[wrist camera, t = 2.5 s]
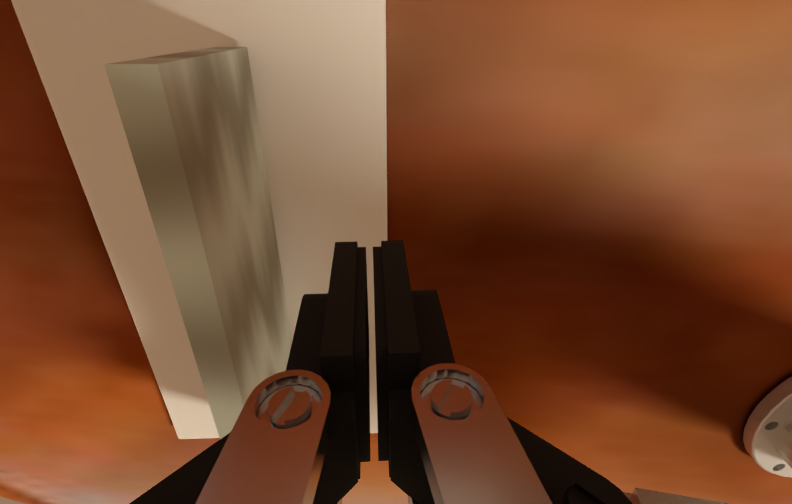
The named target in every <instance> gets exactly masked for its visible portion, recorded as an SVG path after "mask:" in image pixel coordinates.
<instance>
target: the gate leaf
mask: <svg viewBox="0 0 792 504" xmlns="http://www.w3.org/2000/svg"><path fill="white" fill-rule="evenodd" d="M104 66H105V69H106V72H107V76H108V79H109V82H110V85H111V88H112V92H113V95H114V98H115V101H116V105H117V108H118V111H119V114H120V118H121V121H122V124H123V127H124V131H125V134H126V137H127V140H128V143H129V147H130V150H131V153H132V156H133V160H134V163H135V166H136V169H137V173H138V176H139V179H140V182H141V186H142V189H143V192H144V195H145V198H146V202H147V205H148V208H149V211H150V215H151V218H152V221H153V224H154V228H155V231H156V234H157V237H158V241H159V244H160V247H161V250H162V253H163V257H164V260H165V263H166V266H167V270H168V273H169V276H170V279H171V283H172V286H173V289H174V292H175V296H176V299H177V302H178V305H179V308H180V312H181V315H182V318H183V321H184V325H185V328H186V331H187V334H188V338H189V341H190V344H191V347H192V350H193V354H194V357H195V360H196V363H197V367H198V370H199V373H200V376H201V380H202V383H203V386H204V389H205V393H206V396H207V399H208V402H209V405H210V409H211V412H212V415H213V418H214V422H215V425H216V428H217V431H218V435H219V438H220V439H222V438H223V437H224V436H226V435H227V434H229V433H230V432H231V431H232V429H233V427H234V425H235V423H236V421H237V419H238V417H239V415H240V413H241V411H242V409H243V407H244V405H245V403H246V401H247V399H248V397H249V395H250V394H251V393H252V391H253V390H254V388H255V387H256V386H257V385H259V384H260V383H261V382H262V381H263V380H264V379H266V378H268V377H270V376H272V375H274V374H276V373H279V372H283V371H286V367H287V363H288V358H289V354H290V349H291V345H292V337H291V330H290V324H289V317H288V311H287V304H286V298H285V291H284V285H283V278H282V271H281V265H280V258H279V252H278V245H277V239H276V232H275V226H274V219H273V213H272V206H271V200H270V193H269V187H268V180H267V174H266V167H265V161H264V154H263V147H262V141H261V134H260V128H259V121H258V115H257V108H256V102H255V95H254V89H253V82H252V76H251V69H250V63H249V56H248V50H247V47H212V48H205V49H199V50H192V51H186V52H180V53H173V54H167V55H160V56H154V57H148V58H141V59H135V60H128V61H122V62H115V63H109V64H104Z"/></svg>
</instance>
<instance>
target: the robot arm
mask: <svg viewBox="0 0 792 504" xmlns="http://www.w3.org/2000/svg"><path fill="white" fill-rule="evenodd" d="M373 273H374V310H375V347H376V383H377V420H378V457H379V461H387V460H389V477H391V481H392V482H394V483H395V484H396V485H397V486H398V487H399V488H400V489H402V490H403V491H404V492H405V493H406V494H407V495H408V503H409V504H728V503H722V502H717V501H711V500H705V499H699V498H693V497H687V496H681V495H675V494H669V493H663V492H657V491H651V490H646V489H640V488H635V489H634V491H633V494H631V493H625V492H622V491H621V490H620V489H619V488H618V487H616V486H615V485H614V484H613V483H611V482H610V481H609V480H607V479H606V478H604V477H603V476H601V475H599V474H598V473H596V472H595V471H593V470H591V469H590V468H588V467H587V466H585V465H583V464H582V463H580V462H579V461H577V460H575V459H574V458H572V457H570V456H569V455H567V454H566V453H564V452H562V451H561V450H559V449H558V448H556V447H554V446H553V445H551V444H550V443H548V442H546V441H545V440H543V439H541V438H540V437H538V436H537V435H535V434H533V433H532V432H530V431H529V430H527V429H525V428H524V427H522V426H521V425H519V424H517V423H516V422H514V421H512V420H511V419H509V418H508V417H506V415H505V413H504V411H503V409H502V407H501V406H500V404H499V402H498V400H497V398H496V396H495V394H494V392H493V390H492V388H491V387H490V385H489V384H488V383H487V381H486V380H485V378H484V377H483V376H481V375H480V374H479V373H477V372H476V371H475V370H473V369H470V368H468V367H466V366H464V365H459V364H455V361H454V357H453V353H452V349H451V345H450V341H449V337H448V333H447V329H446V325H445V321H444V317H443V314H442V310H441V306H440V302H439V298H438V294H437V291H436V290H418V291H411V288H410V282H409V276H408V270H407V263H406V257H405V251H404V245H403V240H394V241H381V246H380V247H373ZM743 442H744V446H745V449H746V450H747V452H748V453H749V455H750V456H751V457H752V458H753V459H754V461H755V462H756V463H757V464H758V465H759V466H760V467H761V468H762V469H764V470H766V471H768V472H770V473H773V474H776V475H780V476H784V477H792V376H791V377H789V378H788V379H786V380H785V381H783V382H782V383H780V384H779V385H778V386H777V387H776V388H774V389H773V390H772V391H771V392H769V393H768V394H767V395H766V396H765V397H764V398H763V399H762V401H761V402H760V403H759V404H758V405H757V406H756V407H755V409H754V410H753V412H752V413H751V415H750V416H749V418H748V420H747V423H746V425H745V428H744V434H743ZM368 461H370V371H369V318H368V291H367V263H366V247H358V244H357V241H355V242H335V247H334V254H333V261H332V268H331V276H330V283H329V290H328V293H325V294H304V295H303V297H302V301H301V305H300V310H299V314H298V318H297V323H296V327H295V332H294V336H293V341H292V345H291V349H290V354H289V358H288V363H287V367H286V371H283V372H279V373H276V374H274V375H272V376H270V377H268V378H266V379H264V380H263V381H262V382H261V383H260V384H259V385H257V386H256V387H255V388H254V390H253V391H252V393H251V394H250V395H249V397H248V399H247V401H246V403H245V405H244V407H243V409H242V411H241V413H240V415H239V417H238V419H237V421H236V423H235V425H234V427H233V429H232V431H231V432H230V433H229V434H227V435H226V436H224V437H223V438H222V439H220V440H219V441H217V442H216V443H215V444H213V445H212V446H210V447H209V448H207V449H206V450H205V451H203V452H202V453H200V454H199V455H198V456H196V457H195V458H193V459H192V460H191V461H189V462H188V463H186V464H185V465H183V466H182V467H181V468H179V469H178V470H176V471H175V472H174V473H172V474H171V475H169V476H168V477H167V478H165V479H164V480H162V481H161V482H159V483H158V484H157V485H155V486H154V487H152V488H151V489H150V490H148V491H147V492H145V493H144V494H143V495H141V496H140V497H138V498H137V499H135V500H134V501H133V502H131V503H130V504H342V498H343V497H344V496H345V495H346V494H347V493H348V492H349V491H350V490H351V489H352V488H353V487H354V485H355V484H356V483H357V482H358V479H360V462H368Z"/></svg>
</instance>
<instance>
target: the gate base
mask: <svg viewBox="0 0 792 504" xmlns="http://www.w3.org/2000/svg"><path fill="white" fill-rule="evenodd" d="M11 2H12V4H13V7H14V9H15V12H16V15H17V17H18V20H19V22H20V25H21V28H22V30H23V33H24V36H25V38H26V41H27V43H28V46H29V49H30V51H31V54H32V56H33V59H34V62H35V64H36V67H37V70H38V72H39V75H40V77H41V80H42V83H43V85H44V88H45V90H46V93H47V96H48V98H49V101H50V104H51V106H52V109H53V111H54V114H55V117H56V119H57V122H58V124H59V127H60V130H61V132H62V135H63V138H64V140H65V143H66V145H67V148H68V151H69V153H70V156H71V158H72V161H73V164H74V166H75V169H76V172H77V174H78V177H79V179H80V182H81V185H82V187H83V190H84V192H85V195H86V198H87V200H88V203H89V206H90V208H91V211H92V213H93V216H94V219H95V221H96V224H97V226H98V229H99V232H100V234H101V237H102V240H103V242H104V245H105V247H106V250H107V253H108V255H109V258H110V260H111V263H112V266H113V268H114V271H115V274H116V276H117V279H118V281H119V284H120V287H121V289H122V292H123V294H124V297H125V300H126V302H127V305H128V308H129V310H130V313H131V315H132V318H133V321H134V323H135V326H136V328H137V331H138V334H139V336H140V339H141V342H142V344H143V347H144V349H145V352H146V355H147V357H148V360H149V362H150V365H151V368H152V370H153V373H154V375H155V378H156V381H157V383H158V386H159V389H160V391H161V394H162V396H163V399H164V402H165V404H166V407H167V409H168V412H169V415H170V417H171V420H172V423H173V425H174V428H175V430H176V433H177V436H178V438H179V439H198V438H219V435H218V431H217V428H216V425H215V422H214V418H213V415H212V412H211V409H210V405H209V402H208V399H207V396H206V393H205V389H204V386H203V383H202V380H201V376H200V373H199V370H198V367H197V363H196V360H195V357H194V354H193V350H192V347H191V344H190V341H189V338H188V334H187V331H186V328H185V325H184V321H183V318H182V315H181V312H180V308H179V305H178V302H177V299H176V296H175V292H174V289H173V286H172V283H171V279H170V276H169V273H168V270H167V266H166V263H165V260H164V257H163V253H162V250H161V247H160V244H159V241H158V237H157V234H156V231H155V228H154V224H153V221H152V218H151V215H150V211H149V208H148V205H147V202H146V198H145V195H144V192H143V189H142V186H141V182H140V179H139V176H138V173H137V169H136V166H135V163H134V160H133V156H132V153H131V150H130V147H129V143H128V140H127V137H126V134H125V131H124V127H123V124H122V121H121V118H120V114H119V111H118V108H117V105H116V101H115V98H114V95H113V92H112V88H111V85H110V82H109V79H108V76H107V72H106V69H105V66H104V64H109V63H115V62H122V61H128V60H135V59H141V58H148V57H154V56H160V55H167V54H173V53H180V52H186V51H192V50H199V49H205V48H212V47H247V50H248V56H249V63H250V69H251V76H252V82H253V89H254V95H255V102H256V108H257V115H258V121H259V128H260V134H261V141H262V147H263V154H264V161H265V167H266V174H267V180H268V187H269V193H270V200H271V206H272V213H273V219H274V226H275V232H276V239H277V245H278V252H279V258H280V265H281V271H282V278H283V285H284V291H285V298H286V304H287V311H288V317H289V324H290V330H291V337H292V341H293V336H294V332H295V327H296V323H297V318H298V314H299V310H300V305H301V301H302V297H303V295H304V294H325V293H328V290H329V283H330V276H331V268H332V261H333V254H334V247H335V242H355V241H357V244H358V247H366V263H367V291H368V318H369V371H370V433H378V420H377V383H376V347H375V310H374V273H373V247H380V246H381V241H387V120H386V0H11Z"/></svg>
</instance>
